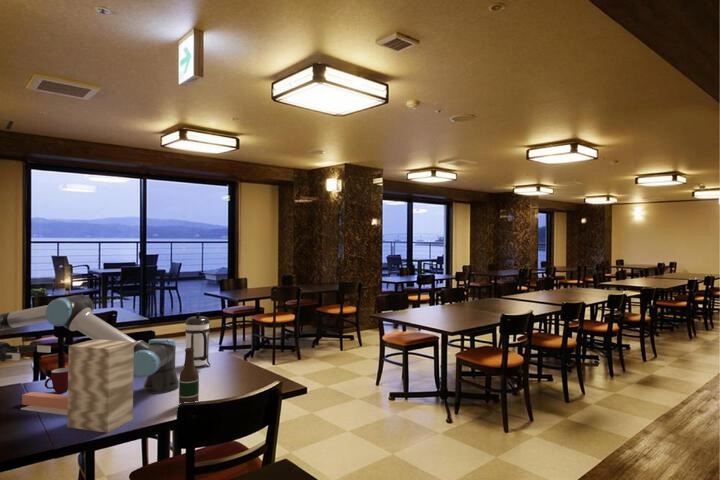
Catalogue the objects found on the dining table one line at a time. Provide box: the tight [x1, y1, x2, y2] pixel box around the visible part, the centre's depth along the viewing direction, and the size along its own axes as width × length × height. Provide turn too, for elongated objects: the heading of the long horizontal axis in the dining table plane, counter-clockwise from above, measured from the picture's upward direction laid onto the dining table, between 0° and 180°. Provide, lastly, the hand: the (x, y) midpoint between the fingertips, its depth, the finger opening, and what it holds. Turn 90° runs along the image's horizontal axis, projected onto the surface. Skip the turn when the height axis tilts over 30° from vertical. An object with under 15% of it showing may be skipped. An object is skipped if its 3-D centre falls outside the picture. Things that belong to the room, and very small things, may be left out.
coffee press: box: [183, 312, 211, 368], centre depth 245 cm, size 17×16×30 cm
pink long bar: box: [21, 391, 68, 410], centre depth 183 cm, size 30×4×4 cm, turn 77°
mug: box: [44, 367, 68, 395], centre depth 200 cm, size 11×8×10 cm
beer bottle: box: [178, 348, 200, 405], centre depth 186 cm, size 8×8×24 cm
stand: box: [66, 339, 134, 433], centre depth 167 cm, size 18×12×30 cm, turn 76°
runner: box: [20, 405, 68, 416], centre depth 182 cm, size 30×12×1 cm, turn 76°
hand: (35, 353), depth 188 cm, fingers open, 13 cm apart
